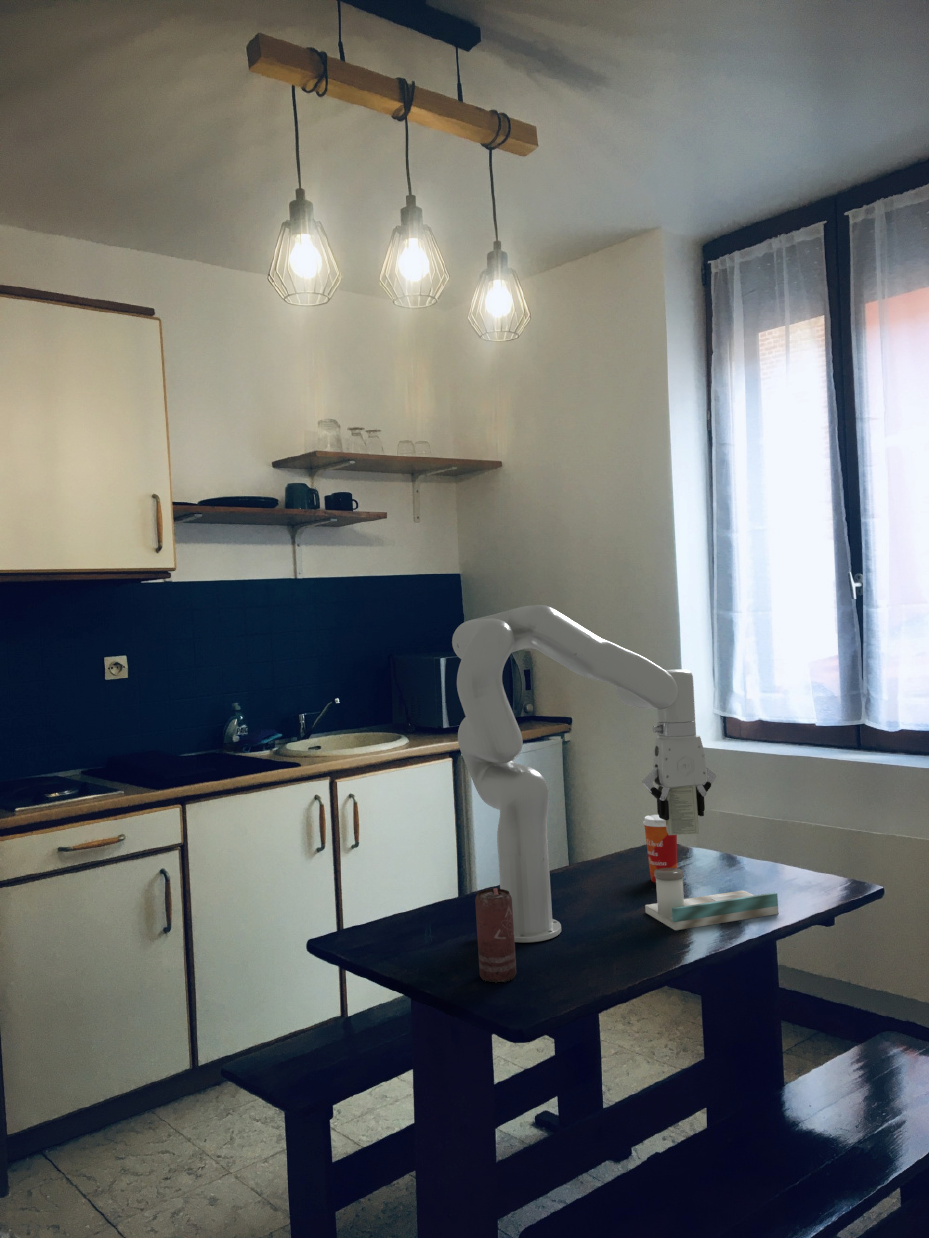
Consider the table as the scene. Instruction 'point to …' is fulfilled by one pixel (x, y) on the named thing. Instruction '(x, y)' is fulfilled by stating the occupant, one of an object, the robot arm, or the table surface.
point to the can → (495, 935)
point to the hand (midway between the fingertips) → (681, 816)
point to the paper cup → (659, 845)
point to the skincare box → (682, 811)
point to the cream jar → (669, 890)
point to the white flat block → (717, 909)
